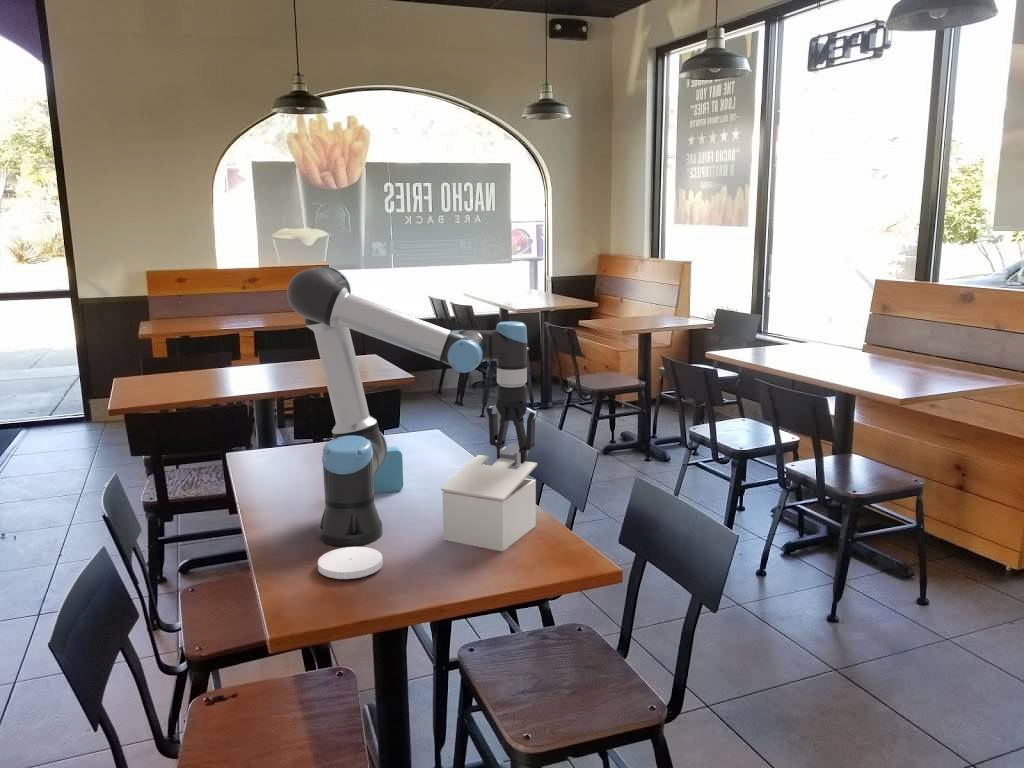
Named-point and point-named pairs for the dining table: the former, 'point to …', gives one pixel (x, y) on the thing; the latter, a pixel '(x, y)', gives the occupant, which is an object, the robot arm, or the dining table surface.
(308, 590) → the dining table surface
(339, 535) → the robot arm
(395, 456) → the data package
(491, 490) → the carton flap
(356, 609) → the dining table surface
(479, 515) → the carton
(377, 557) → the plastic lid
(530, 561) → the dining table surface
